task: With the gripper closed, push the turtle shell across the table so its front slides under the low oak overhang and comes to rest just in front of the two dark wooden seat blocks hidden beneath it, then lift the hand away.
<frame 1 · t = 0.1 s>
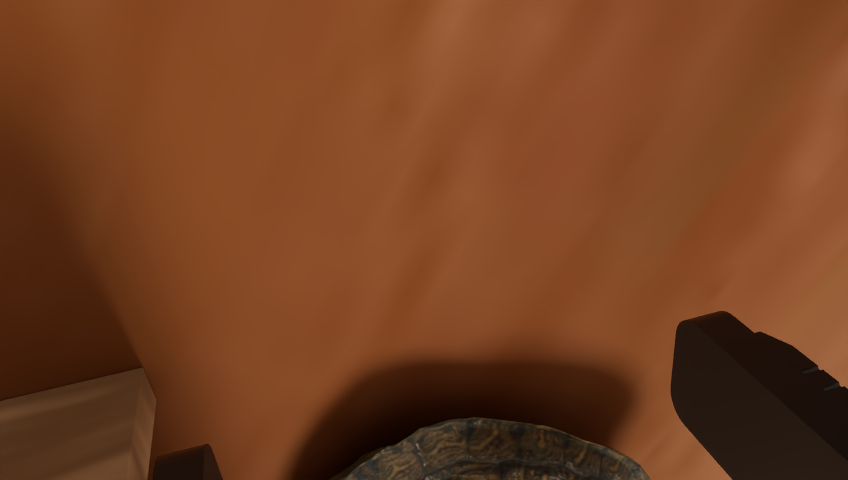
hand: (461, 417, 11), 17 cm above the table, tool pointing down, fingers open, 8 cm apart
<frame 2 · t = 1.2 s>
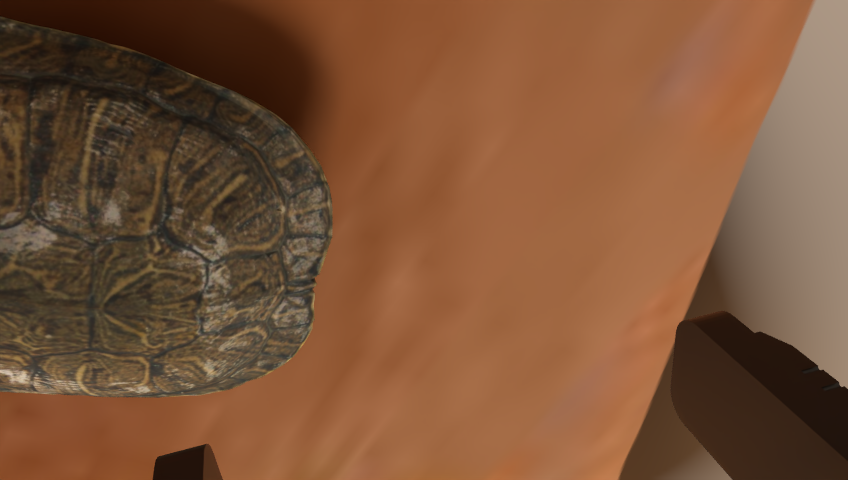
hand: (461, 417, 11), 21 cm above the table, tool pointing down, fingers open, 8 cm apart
turtle shell: (82, 207, 29), on the table
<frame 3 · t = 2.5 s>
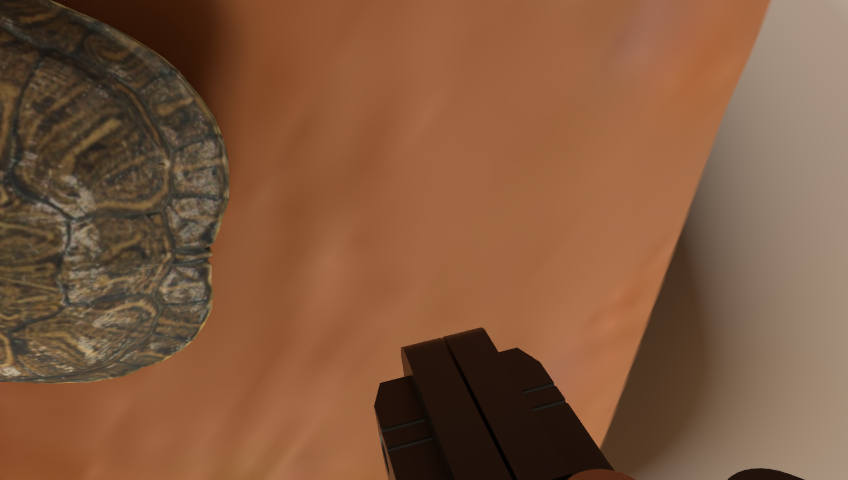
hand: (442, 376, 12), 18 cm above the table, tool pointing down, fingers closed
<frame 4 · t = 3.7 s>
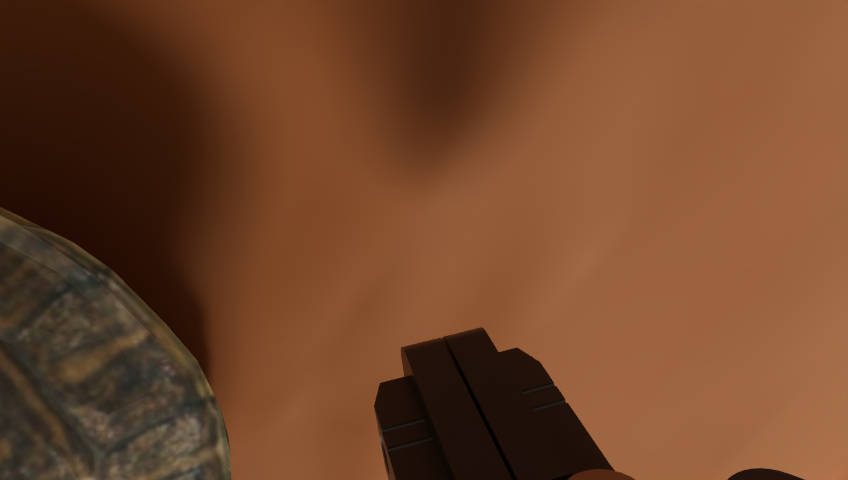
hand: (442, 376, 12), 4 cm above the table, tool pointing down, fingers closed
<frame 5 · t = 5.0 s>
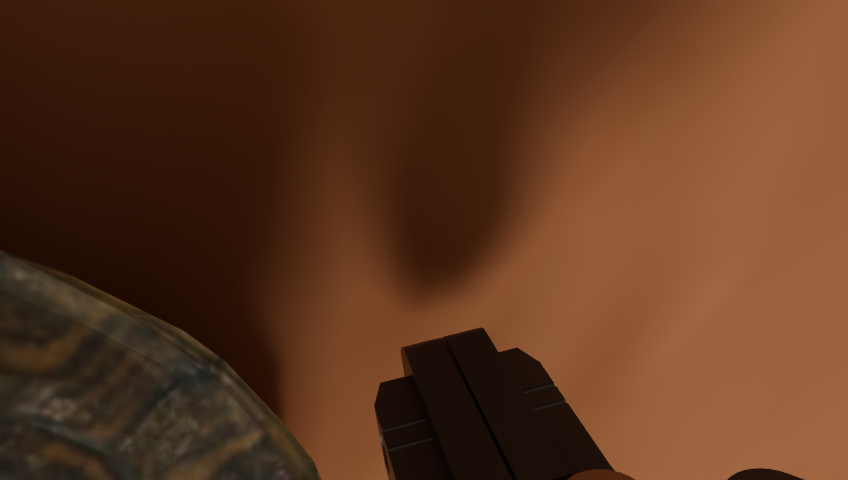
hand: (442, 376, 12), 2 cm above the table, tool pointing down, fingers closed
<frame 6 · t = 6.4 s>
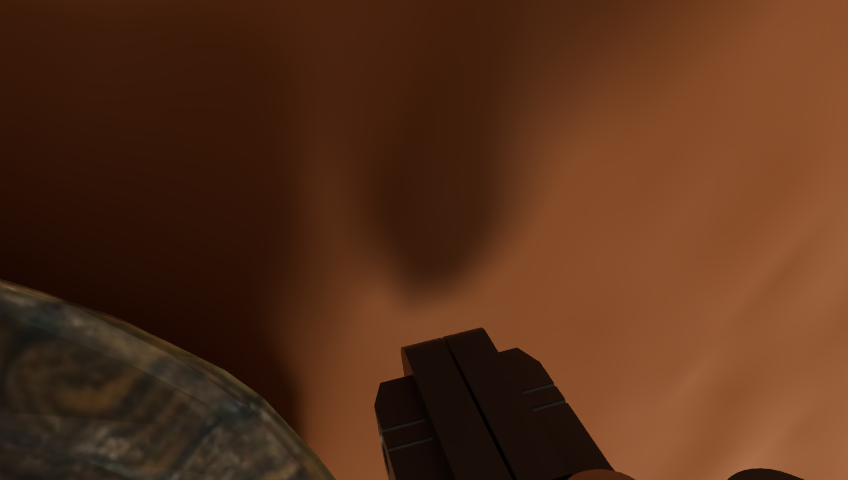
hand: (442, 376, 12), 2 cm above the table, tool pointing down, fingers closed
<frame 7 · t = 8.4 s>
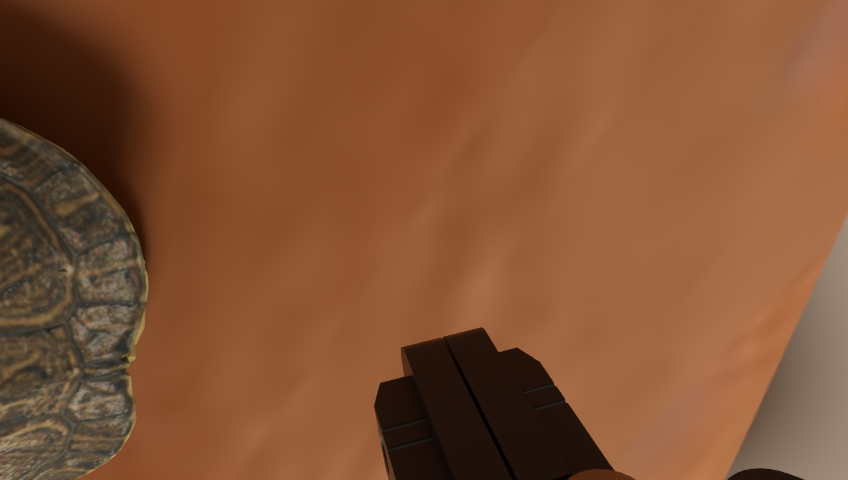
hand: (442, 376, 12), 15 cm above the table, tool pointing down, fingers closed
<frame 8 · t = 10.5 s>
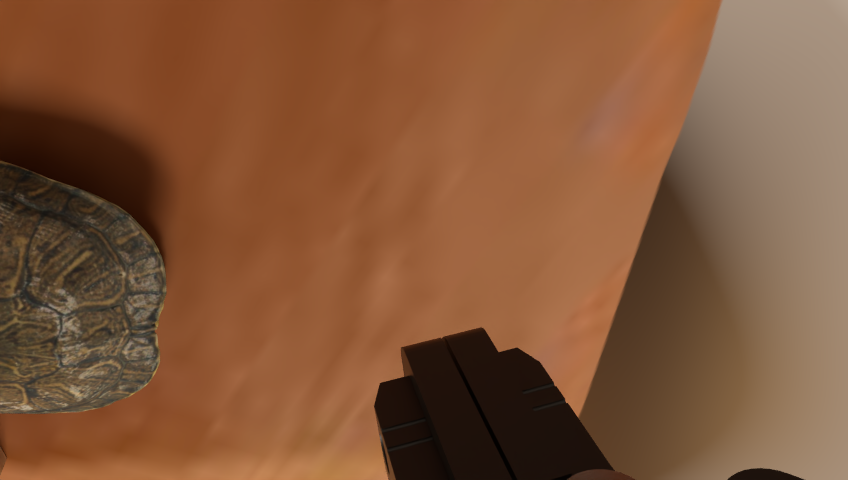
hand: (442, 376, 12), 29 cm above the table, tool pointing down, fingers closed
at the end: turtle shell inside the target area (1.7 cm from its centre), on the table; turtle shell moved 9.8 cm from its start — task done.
